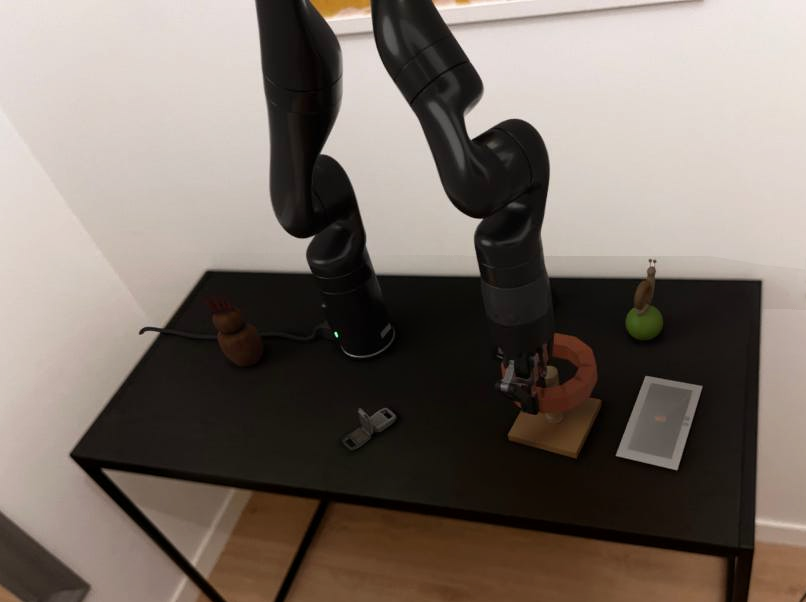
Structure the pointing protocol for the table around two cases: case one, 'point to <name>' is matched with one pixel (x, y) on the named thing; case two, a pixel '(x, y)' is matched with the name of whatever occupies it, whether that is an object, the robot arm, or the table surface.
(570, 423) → the stand
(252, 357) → the wooden figurine
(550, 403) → the ring
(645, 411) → the touchpad
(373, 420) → the strap clip
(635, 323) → the snail figurine
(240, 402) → the table surface
